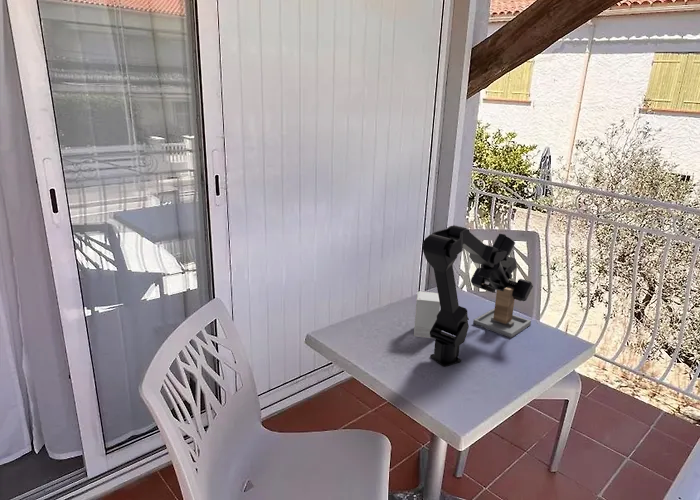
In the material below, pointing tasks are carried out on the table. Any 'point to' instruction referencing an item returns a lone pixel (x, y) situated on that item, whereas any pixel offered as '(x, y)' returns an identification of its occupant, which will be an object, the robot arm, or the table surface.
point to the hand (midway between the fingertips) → (507, 295)
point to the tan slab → (504, 307)
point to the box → (499, 328)
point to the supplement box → (426, 313)
